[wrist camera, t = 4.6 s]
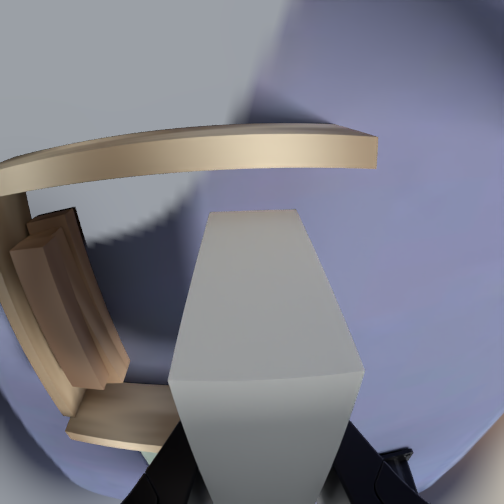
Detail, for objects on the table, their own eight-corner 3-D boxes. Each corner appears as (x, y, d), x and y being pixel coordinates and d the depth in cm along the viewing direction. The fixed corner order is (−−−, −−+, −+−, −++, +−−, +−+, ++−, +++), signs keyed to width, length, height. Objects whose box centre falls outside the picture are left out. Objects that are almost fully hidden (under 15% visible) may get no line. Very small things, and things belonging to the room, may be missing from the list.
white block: (296, 209, 9) (365, 370, 4) (285, 409, 13) (300, 533, 8) (209, 212, 9) (167, 380, 4) (230, 411, 13) (229, 536, 8)
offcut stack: (77, 206, 12) (40, 234, 9) (133, 357, 16) (119, 400, 13) (36, 215, 12) (-2, 244, 9) (95, 357, 16) (78, 397, 13)
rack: (334, 124, 11) (377, 137, 7) (311, 390, 17) (323, 449, 13) (7, 159, 10) (-55, 186, 7) (84, 386, 16) (63, 437, 13)
